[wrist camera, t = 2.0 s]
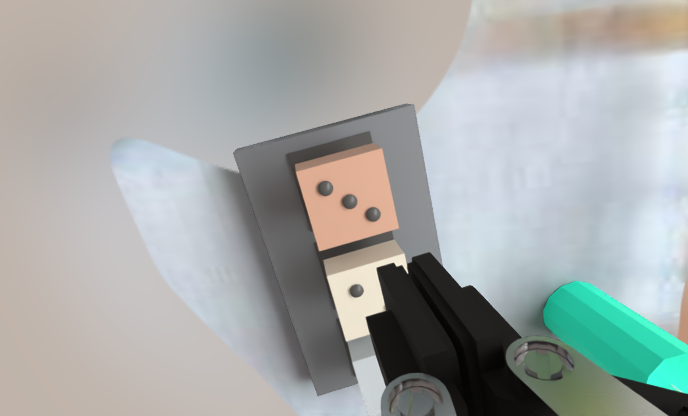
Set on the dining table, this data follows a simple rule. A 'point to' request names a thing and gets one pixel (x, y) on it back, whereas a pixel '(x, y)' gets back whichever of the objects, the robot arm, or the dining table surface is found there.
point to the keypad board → (297, 233)
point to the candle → (616, 337)
